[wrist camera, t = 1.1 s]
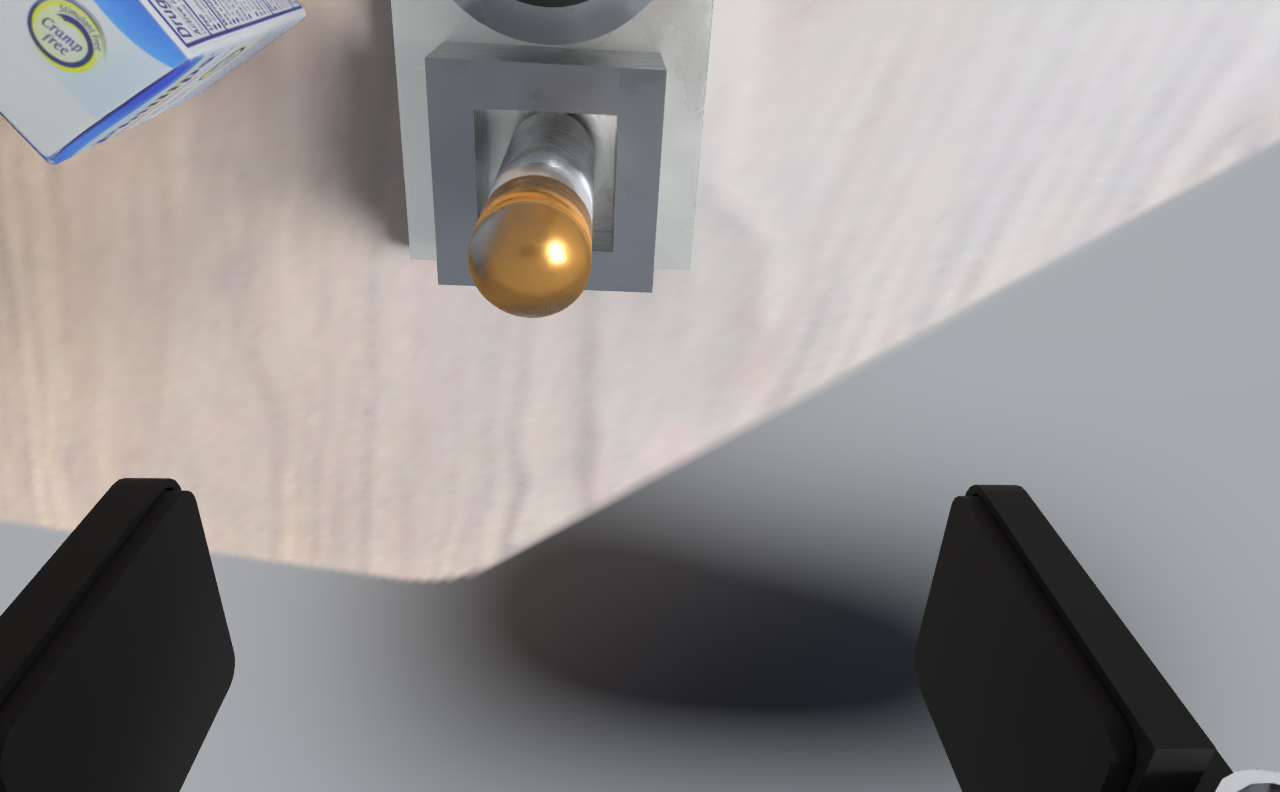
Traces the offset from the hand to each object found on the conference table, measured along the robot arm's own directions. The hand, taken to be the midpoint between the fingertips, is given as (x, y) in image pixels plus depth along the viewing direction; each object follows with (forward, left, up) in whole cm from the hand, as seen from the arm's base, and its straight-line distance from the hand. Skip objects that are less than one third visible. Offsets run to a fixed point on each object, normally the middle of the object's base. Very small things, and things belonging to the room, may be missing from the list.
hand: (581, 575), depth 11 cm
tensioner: (-4, -1, -19) cm, 20 cm away
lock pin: (-1, -1, -18) cm, 18 cm away
